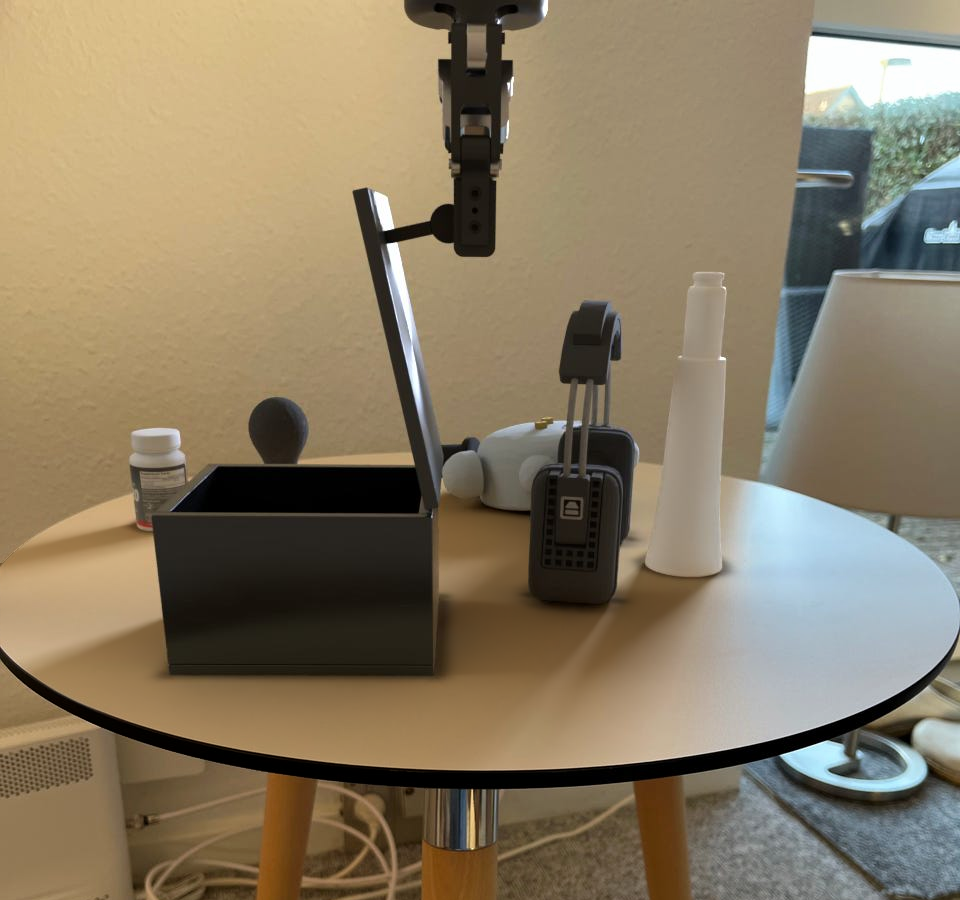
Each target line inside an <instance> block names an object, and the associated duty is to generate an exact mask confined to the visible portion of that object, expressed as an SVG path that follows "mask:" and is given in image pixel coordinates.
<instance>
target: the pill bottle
mask: <svg viewBox="0 0 960 900" xmlns="http://www.w3.org/2000/svg"><path fill="white" fill-rule="evenodd" d="M130 439H131V440H130V441H131V442H130V443H131V449H132V450H133V451H134V452H133V453H132V454H131V455H130V456H129V461H128V462H129V464H128V465H129V472H130V480H131V488H132V489H131V490H132V497H133V504H134V513H135V522H136V526H137V528H138V529H140V530H142V531H146V532H153V528H152V519H151V516H152V515H153V514H154V513H155V512H156V511H157V510H158V509H159V508H160V507H161V506H162V505H163V504H165V503H166V502H167V501H168V500H169V499H170V498H171V497H172V496H173V495H174V494H176V493H177V492H178V491H179V490H180V489H181V488H182V487H183V486H184V485H185V484H187V483H188V482H189V476H188V463H187V458H186V457H187V456H186V455H185V453H184V452H183V451H181V450H179V449H180V448H181V444H182V441H181V434H180V431H179V429H176V428H170V427H153V428H151V427H150V428H143V429H137V430H134V431H132V432H131V433H130Z"/></svg>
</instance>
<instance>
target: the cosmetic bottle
mask: <svg viewBox="0 0 960 900" xmlns="http://www.w3.org/2000/svg"><path fill="white" fill-rule="evenodd" d="M692 280H693V285H691V286H689V287H688V289H687V293H686V305H685V317H684V330H683V343H682V353H681V355H678V356H677V357H676V359H675V366H674V372H673V373H674V374H673V381H672V387H671V396H670V403H669V404H670V405H669V411H668V420H667V429H666V436H665V437H666V438H665V445H664V451H663V452H664V454H663V460H662V470H661V475H660V484H659V491H658V497H657V503H656V510H655V514H654V515H655V516H654V521H653V525H652V532H651V536H650V540H649V544H648V547H647V551H646V556H645V558H644V559H645V560H644V564H645V566H646V567H647V568H648V569H650V570H651V571H653V572H656V573H659V574H662V575H667V576H673V577H682V578H699V577H702V578H703V577H707V576H713V575H716V574H718V573H720V572H721V571H722V570H723V559H722V558H723V557H722V546H721V545H722V543H721V511H720V510H721V477H722V456H723V439H724V438H723V437H724V419H725V418H724V417H725V400H726V399H725V397H726V376H727V375H726V374H727V373H726V372H727V358H726V357H723V356H722V346H723V337H724V326H725V325H724V324H725V314H726V305H727V294H728V293H727V288H726V287H725V286H723V281H724V280H725V273H724V272H722V271H721V272H720V271H719V272H718V271H696V272H692Z"/></svg>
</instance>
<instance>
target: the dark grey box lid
mask: <svg viewBox="0 0 960 900" xmlns="http://www.w3.org/2000/svg"><path fill="white" fill-rule="evenodd" d="M352 197H353V202H354V205H355V206H354V207H355V210H356V215H357V218H358V223H359V227H360V232H361V236H362V240H363V241H362V242H363V245H364V250H365V254H366V258H367V262H368V267H369V272H370V275H371V280H372V285H373V288H374V293H375V298H376V302H377V307H378V311H379V315H380V319H381V324H382V327H383V332H384V336H385V341H386V345H387V348H388V349H387V351H388V354H389V359H390V363H391V367H392V372H393V376H394V381H395V386H396V390H397V393H398V398H399V402H400V407H401V411H402V415H403V419H404V420H403V421H404V424H405V428H406V433H407V437H408V442H409V446H410V450H411V454H412V459H413V465H415V468H416V473H417V477H418V481H419V486H420V490H421V494H422V499H423V503H424V507H425V510H430V509H435V508H438V509H439V507H440V498H441V491H442V490H441V489H442V480H443V478H442V469H443V458H444V455H443V451H442V446H441V445H442V441H441V438H440V433H439V428H438V424H437V419H436V414H435V409H434V405H433V400H432V396H431V392H430V391H431V390H430V388H429V382H428V377H427V373H426V369H425V364H424V358H423V354H422V349H421V344H420V340H419V336H418V331H417V327H416V323H415V318H414V313H413V308H412V304H411V299H410V296H409V290H408V285H407V281H406V276H405V271H404V268H403V263H402V257H401V254H400V249H399V245H398V243H401V242H404V241H409V240H414V239H419V238H424V237H428V236H433V237H434V238H435V239H436V240H437V241H439V242H440V243H442V244H448V245H449V244H454V203H443V204H441V205H439V206H437V207H436V208H435V209H434V210H433V211H432V213H431V215H430V217H429V218H430V219H429V220H426V221H421V222H418V223H413V224H407V225H404V226H400V227H395V225H394V220H393V217H392V211H391V207H390V202H389V198H388V196H387V195H385V194H383V193H381V192H379V191H377V190H374V189H371V188H369V187H366V186H365V187H362V188H357V189H353V190H352Z"/></svg>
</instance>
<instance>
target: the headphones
mask: <svg viewBox="0 0 960 900" xmlns="http://www.w3.org/2000/svg"><path fill="white" fill-rule="evenodd" d="M622 353H623V327H622V316H621V314H620V312H619V311H614V309H613V304H612V302H611V301H610V300H583V301H582V302H581V304H580V306H579V308H578V310H573V311H572V313H571V314H570V317H569V319H568V322H567V325H566V329H565V333H564V339H563V343H562V347H561V354H560V360H559V367H558V375H559V382H560V383H561V384H564V385H569V393H568V403H567V412H566V413H567V414H566V421H567V422H566V431H565V432H564V433H563V435H562V437H561V438H560V441H559V445H558V457H557V463H556V464H549V465H545V466H543V467H542V468H540V470H539V471H538V472H537V474H536V476H535V478H534V479H533V484H532V488H531V510H530V516H529V517H530V520H529V521H530V522H529V542H528V543H529V544H528V569H527V584H528V590H529V593H530V594H531V596H532V597H534V598H536V599H538V600H543V601H549V602H562V603H574V604H587V605H598V604H605V603H606V602H608V601H609V600H611V599H612V598H613V597H614V596H615V594H616V590H617V587H618V576H619V575H618V574H619V563H620V562H619V561H620V545H621V542H624V540H626V538H627V537H628V535H629V533H630V530H631V516H632V500H633V489H634V488H633V487H634V486H633V485H634V474H635V467H634V459H635V444H634V442H635V439H634V436H633V435H632V433H630V432H629V430H626V429H624V428H622V427H621V426H614V424H612V423H610V415H611V414H610V412H611V393H612V392H611V389H612V362H619V361H620V360H621V359H622ZM578 385H585V390H584V399H583V407H582V418H581V422H582V425H579V426H577V427H573V424H574V421H575V413H576V402H577V394H578ZM599 386H604V403H603V422H601V423H600V422H599V423H598V411H599V410H598V409H599V407H598V406H599ZM590 416H591V417H590ZM590 418H591V420H590ZM589 423H590V424H589Z"/></svg>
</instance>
